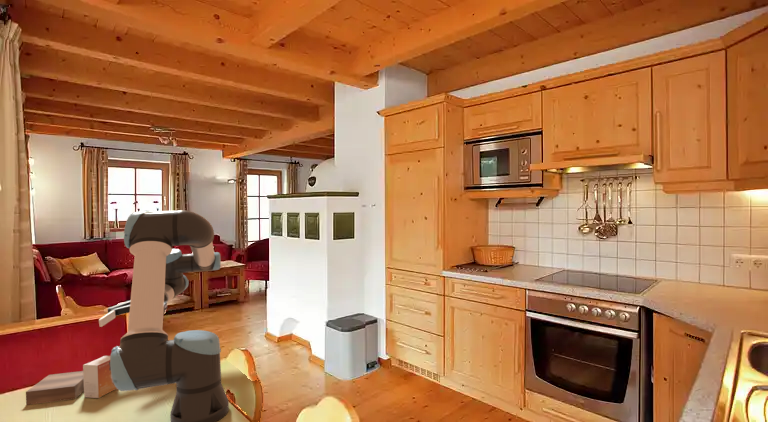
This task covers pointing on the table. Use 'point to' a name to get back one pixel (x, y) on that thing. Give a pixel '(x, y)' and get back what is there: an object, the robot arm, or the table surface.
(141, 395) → the table surface
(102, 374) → the small box
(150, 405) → the table surface
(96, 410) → the table surface
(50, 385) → the walnut riser
